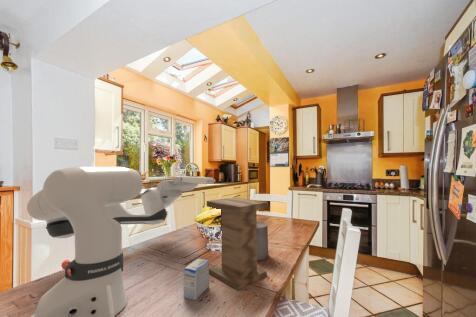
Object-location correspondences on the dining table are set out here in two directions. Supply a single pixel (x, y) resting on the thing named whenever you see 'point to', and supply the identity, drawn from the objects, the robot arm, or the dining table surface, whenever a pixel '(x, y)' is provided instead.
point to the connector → (197, 179)
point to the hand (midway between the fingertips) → (185, 178)
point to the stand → (238, 241)
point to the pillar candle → (262, 241)
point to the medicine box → (196, 278)
